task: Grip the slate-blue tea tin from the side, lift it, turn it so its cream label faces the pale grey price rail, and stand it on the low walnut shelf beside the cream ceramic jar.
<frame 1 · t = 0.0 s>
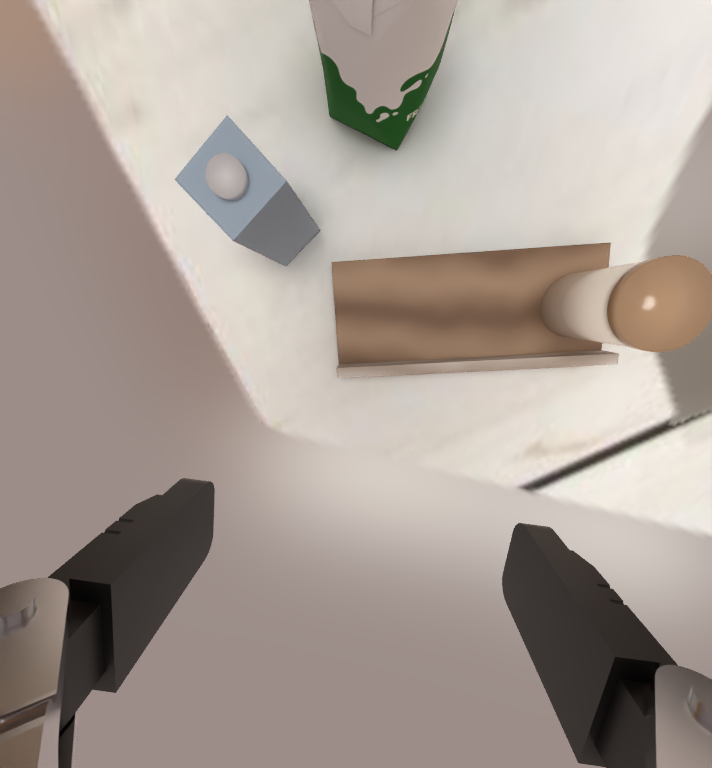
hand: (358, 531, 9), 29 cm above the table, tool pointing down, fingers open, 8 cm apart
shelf: (462, 311, 36), on the table
tea tin: (285, 229, 35), on the table
milk carton: (379, 97, 33), on the table
jar: (572, 305, 34), point 2 cm above the table, touching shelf
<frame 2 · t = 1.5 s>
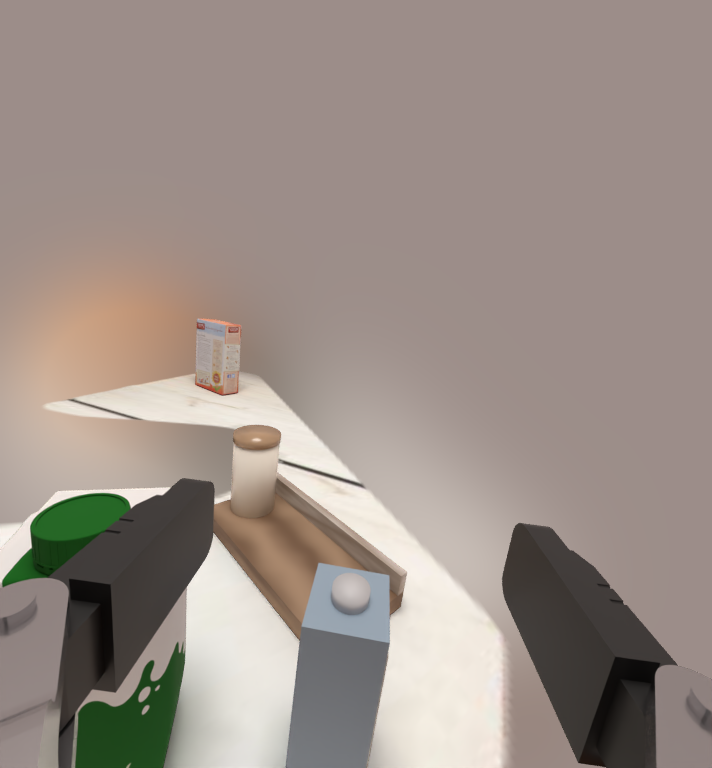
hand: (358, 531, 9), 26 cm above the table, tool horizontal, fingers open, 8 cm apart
cracker box: (216, 389, 108), on the table
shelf: (291, 558, 44), on the table
tea tin: (326, 757, 25), on the table
milk carton: (112, 750, 24), on the table
jar: (252, 505, 50), point 2 cm above the table, touching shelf
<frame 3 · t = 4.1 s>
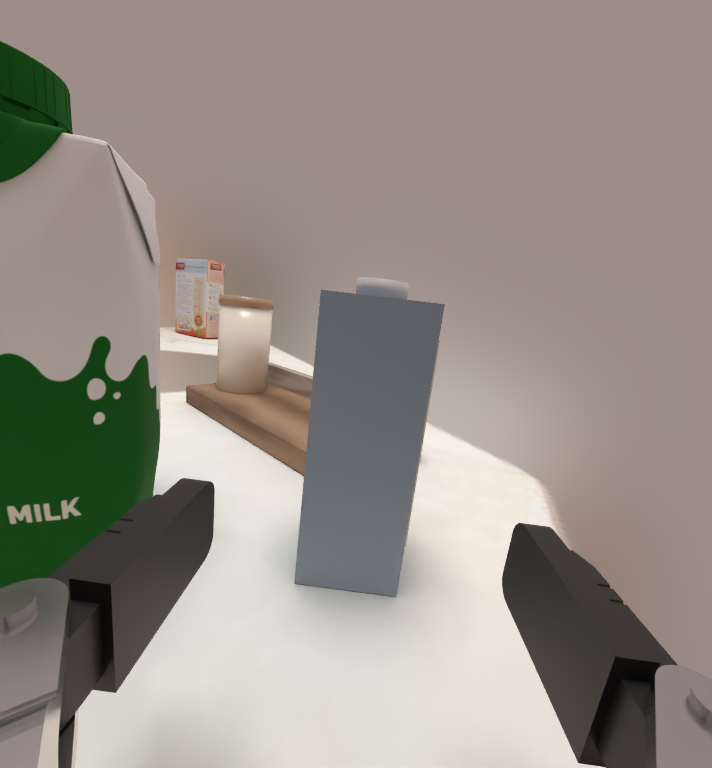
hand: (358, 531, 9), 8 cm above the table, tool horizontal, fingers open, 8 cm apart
cracker box: (198, 336, 101), on the table
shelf: (289, 427, 38), on the table
tea tin: (348, 554, 20), on the table
milk carton: (61, 546, 18), on the table
jar: (242, 387, 44), point 2 cm above the table, touching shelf
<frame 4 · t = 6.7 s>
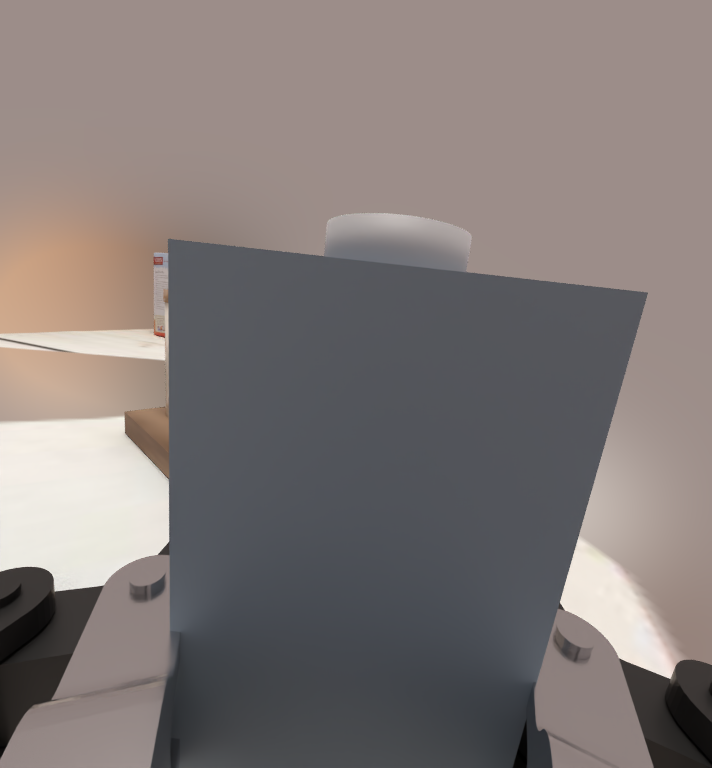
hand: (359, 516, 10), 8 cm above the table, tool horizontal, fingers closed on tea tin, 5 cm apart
cracker box: (179, 339, 91), on the table
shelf: (257, 473, 27), on the table
jar: (201, 412, 33), point 2 cm above the table, touching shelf
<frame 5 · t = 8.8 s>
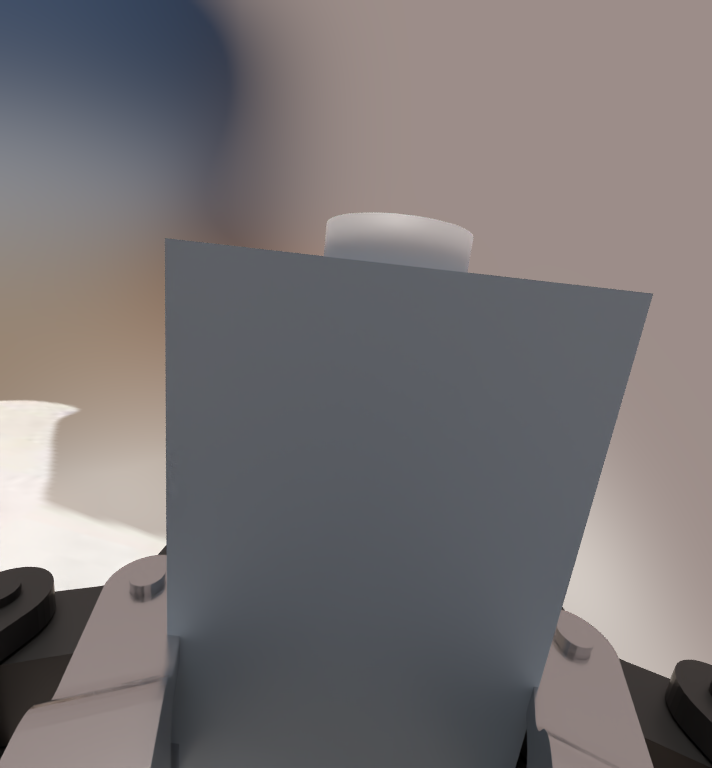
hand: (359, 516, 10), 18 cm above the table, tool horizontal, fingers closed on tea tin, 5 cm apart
when the fingers open (11 cm above the table, at t = 10.9 s): tea tin drops 1 cm, resting on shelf.
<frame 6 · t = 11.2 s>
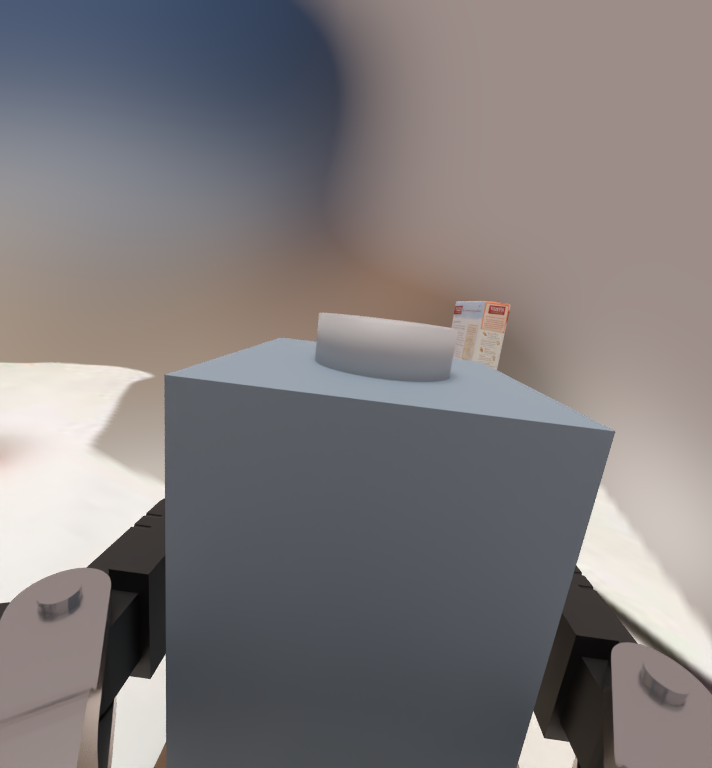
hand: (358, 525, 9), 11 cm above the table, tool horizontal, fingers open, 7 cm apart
cracker box: (463, 396, 80), on the table
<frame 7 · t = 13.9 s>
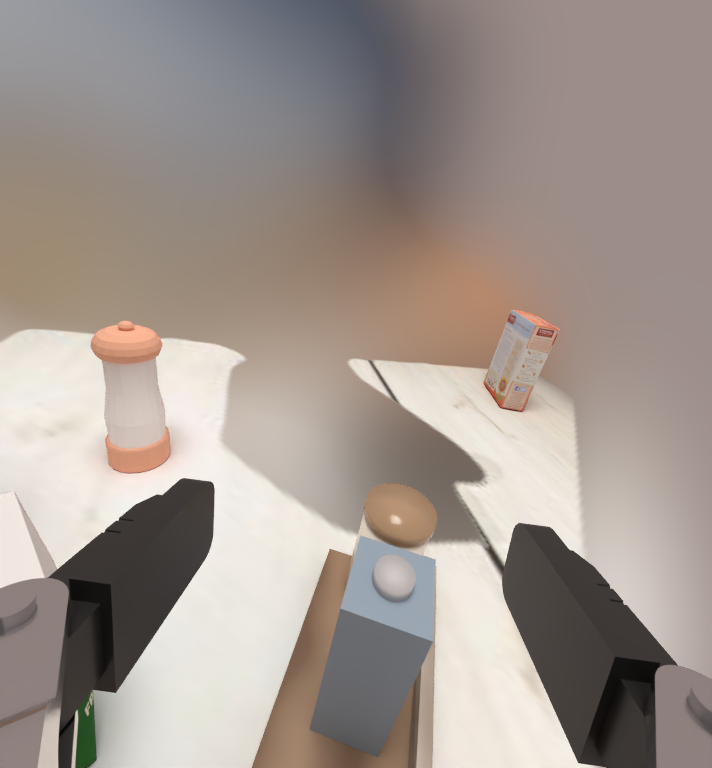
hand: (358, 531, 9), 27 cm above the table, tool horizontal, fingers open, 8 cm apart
cracker box: (501, 397, 89), on the table
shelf: (345, 728, 26), on the table
tea tin: (351, 700, 26), point 2 cm above the table, touching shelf
milk carton: (14, 762, 22), on the table
salt shaker: (140, 456, 48), on the table
jar: (374, 590, 35), point 2 cm above the table, touching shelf
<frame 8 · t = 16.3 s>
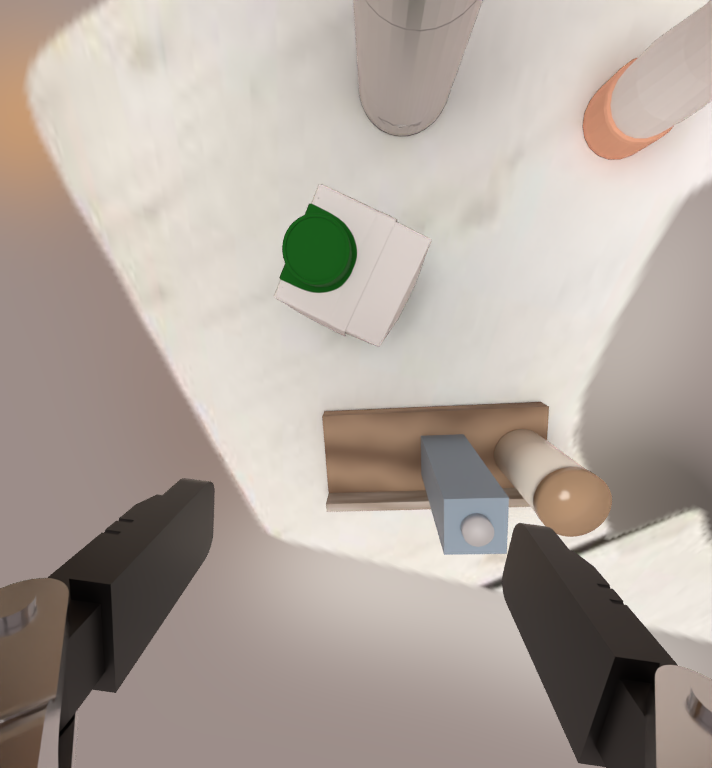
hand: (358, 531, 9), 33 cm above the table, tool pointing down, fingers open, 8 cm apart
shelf: (431, 449, 44), on the table
tea tin: (442, 454, 42), point 2 cm above the table, touching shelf
milk carton: (361, 286, 40), on the table
salt shaker: (618, 120, 35), on the table
jar: (520, 453, 41), point 2 cm above the table, touching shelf
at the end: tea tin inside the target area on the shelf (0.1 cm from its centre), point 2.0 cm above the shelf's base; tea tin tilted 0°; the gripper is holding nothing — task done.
